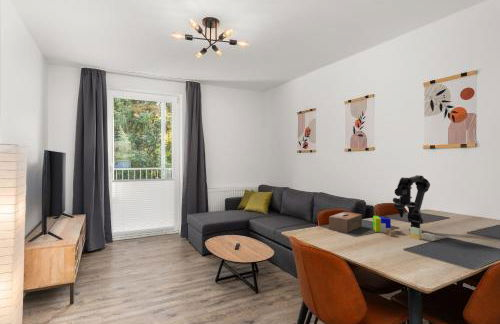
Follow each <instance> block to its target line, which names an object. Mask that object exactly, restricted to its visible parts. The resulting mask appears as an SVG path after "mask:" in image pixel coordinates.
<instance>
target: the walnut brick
mask: <svg viewBox="0 0 500 324" xmlns="http://www.w3.org/2000/svg"><path fill="white" fill-rule="evenodd" d="M384 235H386V236H388V237H395V236H396V231H395V230H392V229H391V230H390V229H385V233H384Z"/></svg>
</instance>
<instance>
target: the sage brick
mask: <svg viewBox="0 0 500 324" xmlns="http://www.w3.org/2000/svg"><path fill="white" fill-rule="evenodd" d="M409 229H410V230H409V231H410V232H409V234H410V233H414V234H418V235H420V234H422V235H423V233H422V232H423V229H422V228H421V227H420V228H416V227H411V226H410V228H409Z"/></svg>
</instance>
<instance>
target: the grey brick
mask: <svg viewBox="0 0 500 324" xmlns="http://www.w3.org/2000/svg"><path fill="white" fill-rule="evenodd" d="M422 239H424V240H427V241H432V242H433V241H435V239H436V235H435V234H433V233H428V232H423V233H422Z"/></svg>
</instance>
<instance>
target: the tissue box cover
mask: <svg viewBox="0 0 500 324" xmlns="http://www.w3.org/2000/svg"><path fill="white" fill-rule="evenodd" d="M362 225H363V214H361V213H356V212H351V211H349V212H348V211H343V212H339V213H335V214H333V215H330V216H328V230H330V231H331V230H332V231H336V232H341V233H346V234H347V233H350V232H352V230H353V231H354V229H355V230H357V229H359V227H360V228H362V227H363V226H362Z"/></svg>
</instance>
